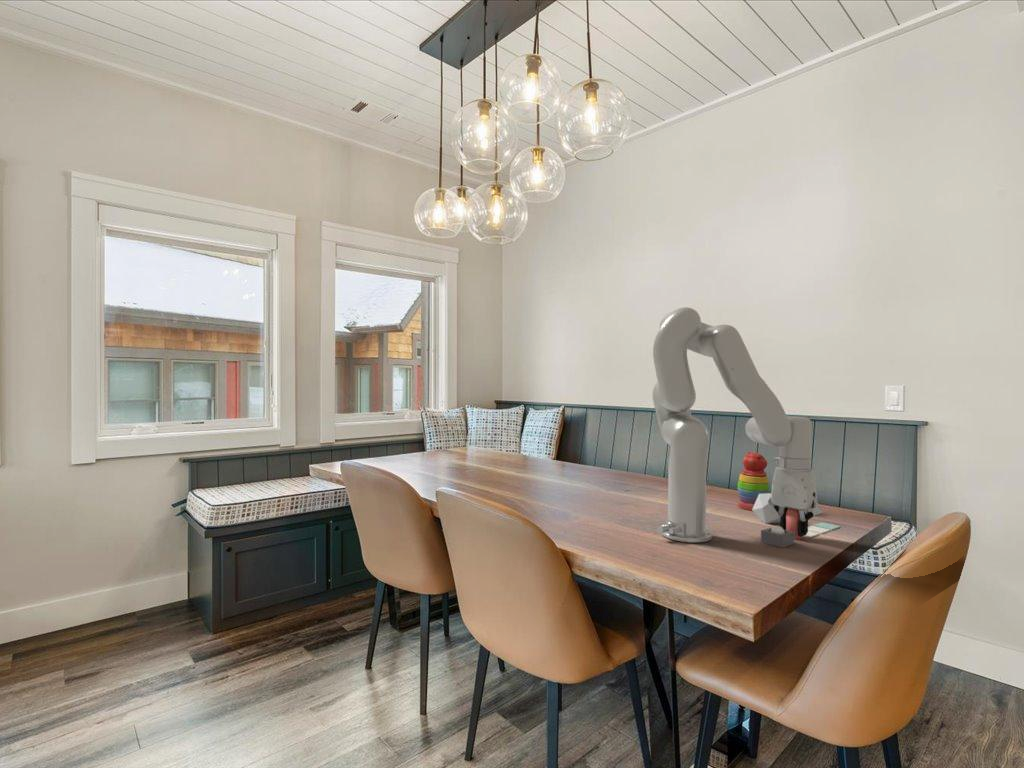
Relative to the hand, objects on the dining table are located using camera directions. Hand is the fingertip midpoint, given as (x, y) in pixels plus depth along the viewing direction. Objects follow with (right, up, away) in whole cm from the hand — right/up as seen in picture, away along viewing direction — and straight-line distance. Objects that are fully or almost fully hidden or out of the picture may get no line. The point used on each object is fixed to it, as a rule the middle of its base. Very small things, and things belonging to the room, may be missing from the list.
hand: (793, 532), depth 143 cm
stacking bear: (+4, -1, +32) cm, 33 cm away
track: (+7, -1, +5) cm, 9 cm away
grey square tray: (-6, -1, -5) cm, 8 cm away
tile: (+15, -1, +10) cm, 18 cm away
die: (+1, -1, +16) cm, 16 cm away
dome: (-7, -1, -5) cm, 8 cm away
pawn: (0, -1, 0) cm, 1 cm away
